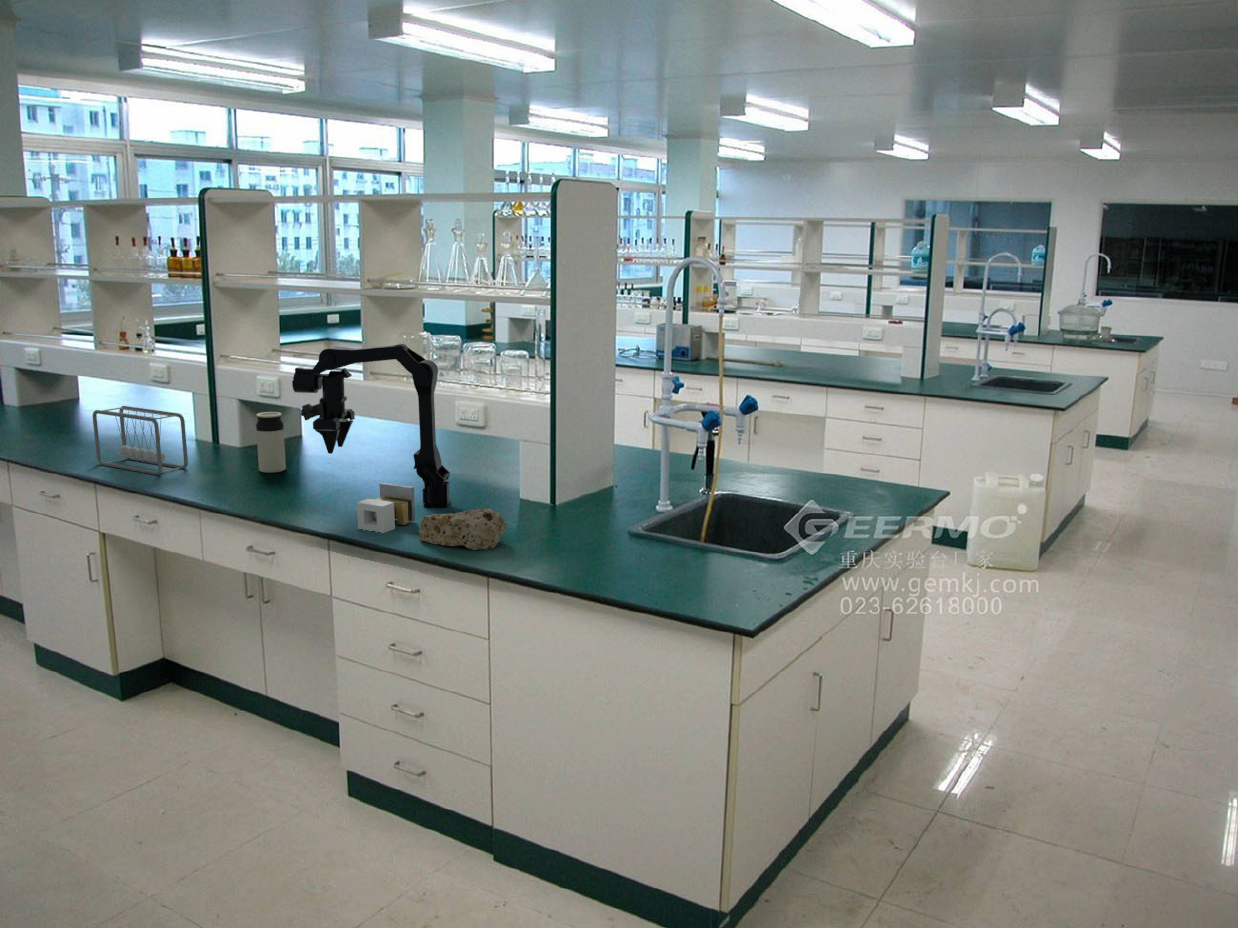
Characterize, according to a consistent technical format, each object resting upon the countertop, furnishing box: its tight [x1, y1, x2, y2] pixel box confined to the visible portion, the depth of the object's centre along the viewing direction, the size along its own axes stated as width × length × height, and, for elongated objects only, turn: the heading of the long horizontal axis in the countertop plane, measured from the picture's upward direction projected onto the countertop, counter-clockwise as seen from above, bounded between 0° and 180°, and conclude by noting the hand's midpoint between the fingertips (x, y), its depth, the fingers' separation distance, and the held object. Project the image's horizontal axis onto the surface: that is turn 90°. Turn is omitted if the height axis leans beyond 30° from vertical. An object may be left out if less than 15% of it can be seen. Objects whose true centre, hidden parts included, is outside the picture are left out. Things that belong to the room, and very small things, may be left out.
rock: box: [418, 507, 507, 551], centre depth 244 cm, size 21×14×10 cm
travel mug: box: [255, 411, 287, 474], centre depth 311 cm, size 8×8×18 cm
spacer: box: [374, 497, 409, 526], centre depth 257 cm, size 2×9×6 cm, turn 66°
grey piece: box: [371, 482, 416, 523], centre depth 256 cm, size 9×10×9 cm
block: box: [356, 498, 396, 534], centre depth 252 cm, size 4×8×7 cm, turn 65°
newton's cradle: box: [92, 405, 189, 476], centre depth 313 cm, size 30×10×18 cm, turn 62°
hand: (335, 450), depth 273 cm, fingers open, 9 cm apart
